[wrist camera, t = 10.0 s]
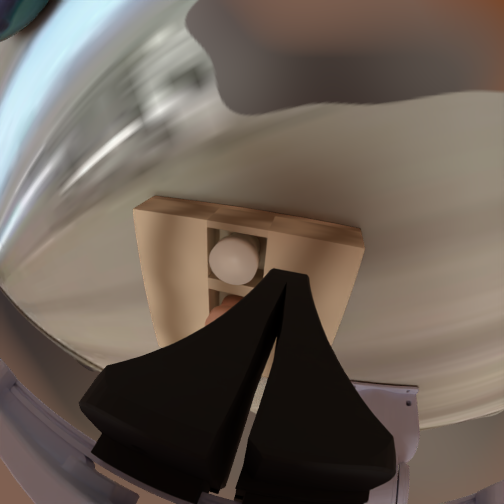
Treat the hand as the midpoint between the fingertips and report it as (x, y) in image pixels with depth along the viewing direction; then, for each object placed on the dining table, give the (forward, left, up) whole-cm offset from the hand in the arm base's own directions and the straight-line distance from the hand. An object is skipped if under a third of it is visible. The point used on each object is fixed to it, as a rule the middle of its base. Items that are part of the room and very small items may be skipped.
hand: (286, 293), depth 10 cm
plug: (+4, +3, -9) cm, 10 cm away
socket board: (+4, +9, -10) cm, 14 cm away
